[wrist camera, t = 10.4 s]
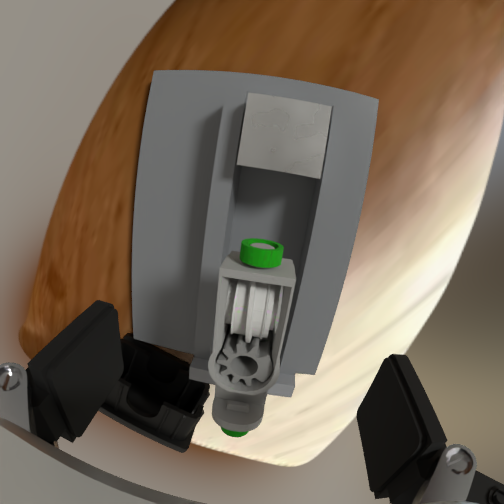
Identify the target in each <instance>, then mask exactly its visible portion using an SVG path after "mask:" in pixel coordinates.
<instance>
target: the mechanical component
mask: <svg viewBox="0 0 504 504" xmlns="http://www.w3.org/2000/svg"><path fill="white" fill-rule="evenodd" d="M283 249H284V247H283V245H281V244H280V243H277V242H274V241H271V240H266V239H257V238H250V239H244V240H242V242H241V249H240V252H237V251H231V253H230V254H229V255H227V256H226V258H225V260H224V261H223V263H222V265H221V266H220V271H219V281H218V292H217V303H216V315H215V327H214V339H213V350H212V353H211V355H210V358H209V361H208V369H209V373H210V375H211V377H212V379H213V380H214V381H215V383H216V387H215V398H214V401H213V406H212V417H213V419H214V421H215V422H216V423H217V424H218V425H219V426H221V429H222V431H223V432H224V433H225V434H227V435H229V436H232V437H241V436H244V435H246V434H247V433H248V432H249V431H251V430H253V429H255V428H256V427H258V426H259V425H260V423H261V421H262V417H263V413H264V405H265V400H266V396H267V392H268V390H269V389H270V388H271V387H272V386H273V385H274V384H275V383H276V382H277V380H278V377H279V374H280V354H281V349H282V345H283V340H284V336H285V331H286V326H287V322H288V317H289V312H290V307H291V302H292V297H293V292H294V287H295V282H296V275H295V268H294V264H293V261H292V260H291V259H284V258H282V255H283Z"/></svg>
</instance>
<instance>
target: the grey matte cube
mask: <svg viewBox="0 0 504 504" xmlns="http://www.w3.org/2000/svg"><path fill="white" fill-rule="evenodd" d="M331 108H332V107H331V106H327V105H322V104H317V103H312V102H307V101H302V100H296V99H291V98H284V97H278V96H271V95H264V94H256V93H248V98H247V104H246V110H245V116H244V122H243V128H242V134H241V140H240V146H239V153H238V159H237V165H242V166H249V167H256V168H262V169H268V170H274V171H280V172H286V173H291V174H297V175H302V176H307V177H313V178H318V179H320V178H321V172H322V166H323V160H324V154H325V148H326V142H327V135H328V129H329V122H330V115H331Z"/></svg>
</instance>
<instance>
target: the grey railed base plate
mask: <svg viewBox="0 0 504 504" xmlns="http://www.w3.org/2000/svg"><path fill="white" fill-rule="evenodd" d="M248 93H256V94H264V95H271V96H278V97H284V98H291V99H296V100H302V101H307V102H312V103H317V104H322V105H327V106H331V107H332V108H331V115H330V122H329V129H328V135H327V142H326V148H325V154H324V160H323V166H322V172H321V178H320V179H318V178H313V177H307V176H302V175H297V174H291V173H286V172H280V171H274V170H268V169H262V168H256V167H249V166H242V165H237V159H238V153H239V146H240V140H241V134H242V128H243V122H244V116H245V110H246V104H247V98H248ZM378 101H379V99H375V98H372V97H369V96H365V95H361V94H358V93H354V92H350V91H346V90H342V89H338V88H333V87H329V86H324V85H320V84H315V83H310V82H304V81H299V80H293V79H287V78H280V77H273V76H265V75H257V74H248V73H237V72H223V71H202V70H159V71H154V74H153V78H152V83H151V88H150V93H149V98H148V103H147V109H146V114H145V120H144V126H143V133H142V140H141V147H140V155H139V163H138V172H137V181H136V192H135V205H134V220H133V240H132V315H133V335H134V339H137V340H140V341H144V342H147V343H151V344H154V345H158V346H162V347H166V348H170V349H174V350H177V351H182V352H186V353H190V354H194V358H193V360H192V363H191V365H190V370H189V379H192V380H196V381H200V382H204V383H209V384H214V385H216V383H215V381H214V380H213V379H212V377H211V375H210V373H209V369H208V361H209V358H210V355H211V353H212V350H213V339H214V327H215V315H216V303H217V292H218V281H219V271H220V266H221V265H222V263H223V261H224V260H225V258H226V256H227V255H229V254H230V253H231V251H237V252H240V249H241V242H242V240H244V239H250V238H257V239H266V240H271V241H274V242H277V243H280V244H281V245H283V247H284V249H283V255H282V258H284V259H291V260H292V261H293V264H294V268H295V275H296V282H295V287H294V292H293V297H292V302H291V307H290V312H289V317H288V322H287V326H286V331H285V336H284V340H283V345H282V349H281V354H280V374H279V377H278V380H277V382H276V383H275V384H274V385H273V386H272V387H271V388H270V389H269V390H268V392H267V394H269V395H277V396H284V397H291V396H292V393H293V390H294V388H295V373H302V374H310V375H315V373H316V370H317V367H318V364H319V361H320V358H321V355H322V353H323V350H324V347H325V344H326V341H327V338H328V334H329V331H330V328H331V325H332V322H333V319H334V315H335V312H336V309H337V305H338V302H339V298H340V295H341V291H342V288H343V284H344V280H345V277H346V273H347V269H348V265H349V261H350V257H351V253H352V249H353V245H354V241H355V237H356V232H357V228H358V223H359V219H360V214H361V209H362V205H363V200H364V194H365V189H366V184H367V178H368V173H369V167H370V161H371V155H372V148H373V141H374V134H375V127H376V119H377V110H378Z"/></svg>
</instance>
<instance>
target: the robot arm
mask: <svg viewBox="0 0 504 504" xmlns="http://www.w3.org/2000/svg"><path fill="white" fill-rule="evenodd" d="M123 370H124V364H123V357H122V350H121V341H120V332H119V322H118V312H117V310H116V309H114V306H113V305H112V304H110V303H107V302H103V301H100V300H97V301H95V302H94V303H93V304H92V305H91V306H90V307H89V308H87V309H86V310H85V311H84V312H83V313H82V314H81V315H79V316H78V317H77V318H76V319H75V320H74V321H73V322H72V323H70V324H69V325H68V326H67V327H66V328H65V329H64V330H63V331H62V332H61V333H59V334H58V335H57V336H56V337H55V338H54V339H53V340H52V341H51V342H50V343H49V344H48V345H46V346H45V347H44V348H43V349H42V350H41V351H40V352H39V353H38V354H37V355H36V356H35V357H34V358H33V359H32V360H31V361H30V362H29V363H28V368H27V369H26V370H25V369H24V368H23V367H22V366H21V365H19V364H16V363H4V364H1V365H0V504H205V503H200V502H196V501H192V500H187V499H184V498H179V497H176V496H173V495H169V494H165V493H162V492H159V491H156V490H152V489H150V488H146V487H143V486H141V485H138V484H135V483H132V482H130V481H127V480H124V479H122V478H119V477H117V476H114V475H112V474H109V473H107V472H105V471H103V470H100V469H98V468H96V467H94V466H91V465H90V464H87V463H85V462H83V461H81V460H79V459H77V458H75V457H73V456H71V455H69V454H67V453H65V452H63V451H62V450H60V449H59V447H58V442H57V440H58V439H59V437H60V436H61V437H63V438H65V439H67V440H69V441H70V442H74V440H75V439H76V437H80V436H82V434H83V433H84V431H85V430H86V428H87V427H88V425H89V424H90V422H91V420H92V419H93V417H94V416H95V414H96V413H97V411H98V410H99V408H100V407H101V405H102V404H103V402H104V401H105V399H106V398H107V396H108V395H109V393H110V392H111V390H112V389H113V387H114V386H115V384H116V383H117V381H118V380H119V378H120V377H121V375H122V373H123ZM357 422H358V426H359V431H360V436H361V441H362V447H363V452H364V457H365V463H366V469H367V474H368V480H369V486H370V490H371V491H372V492H374V495H375V499H379V498H387V497H389V499H390V504H504V485H503V484H501V483H499V482H497V481H495V480H493V479H492V478H490V477H488V476H485V475H484V474H482V473H480V472H478V471H476V466H477V462H476V458H475V456H474V454H473V453H472V451H471V450H470V449H469V448H467V447H466V446H463V445H460V444H453V445H450V446H448V447H446V444H445V442H446V441H447V439H446V436H445V434H444V431H443V429H442V427H441V425H440V422H439V420H438V418H437V416H436V413H435V411H434V409H433V407H432V405H431V403H430V400H429V398H428V396H427V394H426V392H425V390H424V388H423V386H422V384H421V382H420V380H419V378H418V376H417V374H416V372H415V370H414V368H413V366H412V364H411V362H410V360H409V358H408V357H407V356H406V355H398V354H391V355H390V356H389V357H388V358H385V359H384V361H383V362H382V365H381V367H380V369H379V371H378V373H377V375H376V377H375V379H374V381H373V383H372V384H371V386H370V388H369V390H368V392H367V394H366V396H365V398H364V399H363V401H362V403H361V405H360V406H359V408H358V411H357Z"/></svg>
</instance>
